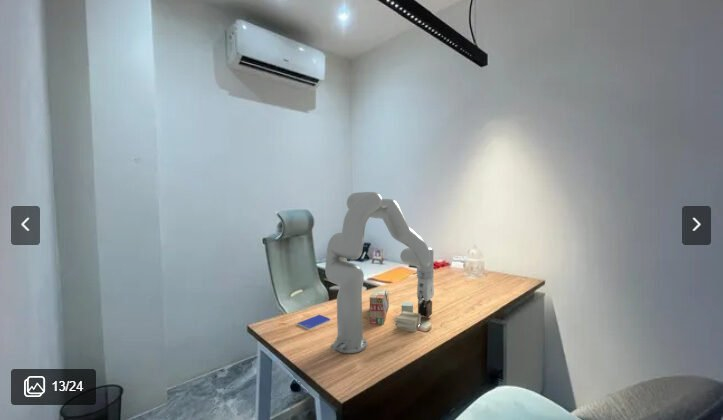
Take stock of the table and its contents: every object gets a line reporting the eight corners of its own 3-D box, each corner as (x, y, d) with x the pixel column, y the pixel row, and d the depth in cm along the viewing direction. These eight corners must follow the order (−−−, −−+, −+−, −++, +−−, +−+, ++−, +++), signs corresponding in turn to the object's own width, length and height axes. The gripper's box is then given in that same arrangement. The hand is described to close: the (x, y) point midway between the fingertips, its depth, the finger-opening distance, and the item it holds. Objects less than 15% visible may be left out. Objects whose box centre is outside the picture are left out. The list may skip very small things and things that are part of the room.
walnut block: (428, 317, 134) (428, 304, 134) (417, 315, 137) (418, 302, 137) (432, 313, 139) (432, 300, 138) (421, 311, 141) (421, 299, 141)
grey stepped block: (415, 332, 123) (415, 320, 123) (397, 329, 127) (396, 317, 127) (420, 325, 131) (420, 313, 130) (403, 322, 134) (402, 311, 134)
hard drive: (308, 327, 128) (330, 318, 137) (297, 322, 133) (318, 314, 142) (309, 331, 128) (330, 321, 137) (297, 326, 133) (318, 317, 143)
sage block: (412, 318, 137) (412, 306, 137) (401, 318, 138) (401, 305, 138) (413, 314, 142) (412, 302, 142) (402, 314, 143) (402, 301, 143)
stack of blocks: (376, 306, 154) (376, 283, 153) (388, 307, 152) (388, 283, 152) (369, 324, 133) (369, 296, 132) (383, 324, 132) (383, 297, 131)
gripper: (426, 279, 128) (426, 321, 129) (438, 271, 143) (438, 309, 143) (410, 277, 132) (410, 317, 133) (423, 269, 146) (423, 306, 147)
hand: (425, 312), depth 138 cm, fingers closed on walnut block, 5 cm apart
